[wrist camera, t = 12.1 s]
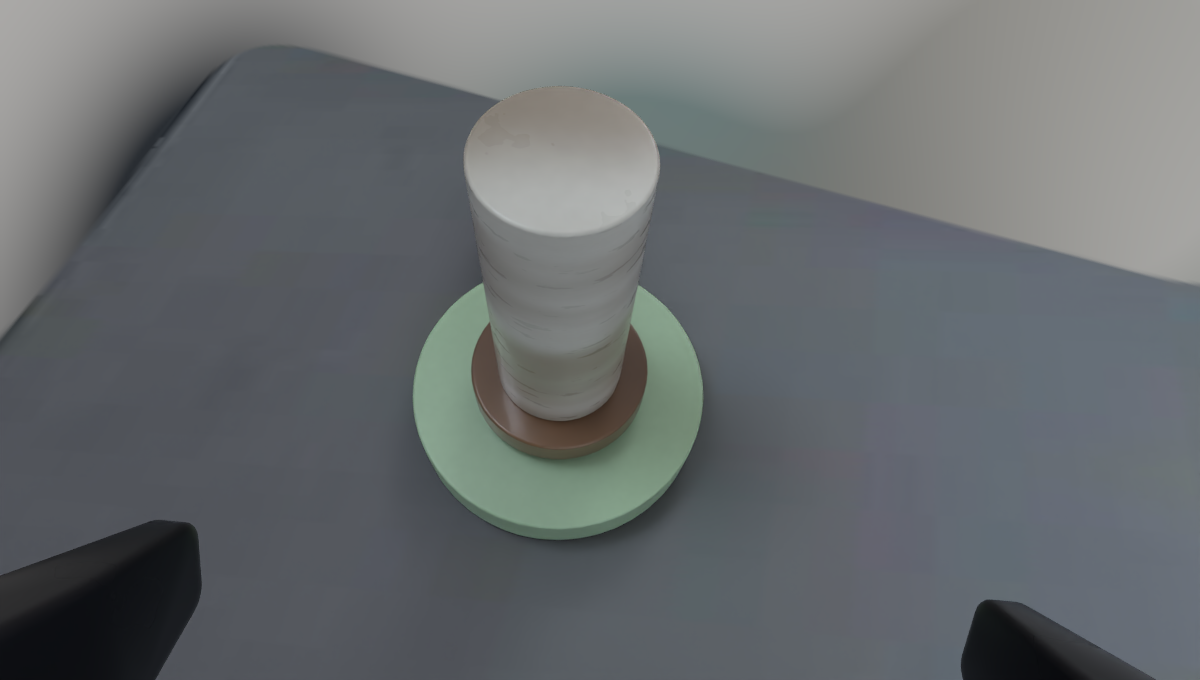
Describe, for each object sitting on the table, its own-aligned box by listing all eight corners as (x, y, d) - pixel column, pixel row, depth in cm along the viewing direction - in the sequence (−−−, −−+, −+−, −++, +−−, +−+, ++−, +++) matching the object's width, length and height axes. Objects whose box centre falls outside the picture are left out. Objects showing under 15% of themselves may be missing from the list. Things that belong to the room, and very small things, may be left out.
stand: (588, 604, 20) (590, 596, 19) (360, 426, 22) (348, 408, 21) (745, 378, 24) (756, 358, 22) (537, 244, 26) (536, 218, 24)
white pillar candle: (653, 455, 20) (724, 269, 12) (473, 464, 20) (409, 279, 11) (619, 160, 26) (651, -119, 17) (476, 162, 25) (434, -123, 16)
